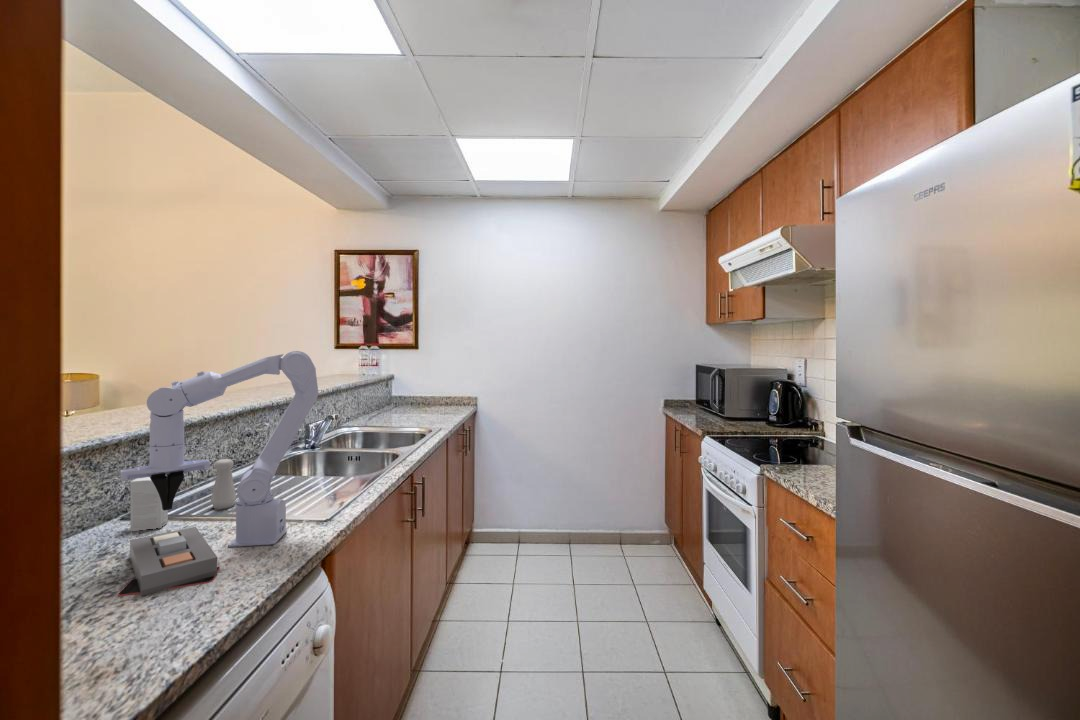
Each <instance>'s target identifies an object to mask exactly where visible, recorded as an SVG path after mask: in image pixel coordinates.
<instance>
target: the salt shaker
mask: <svg viewBox="0 0 1080 720" xmlns="http://www.w3.org/2000/svg"><path fill="white" fill-rule="evenodd" d="M233 467H234V460H232V459H231V458H223V459H218V460H217V461H215V462H214V469H215V470H217V472H216V476H215V481H214V485H213V489H212V493H211V496H210V497H211V498H210V502H211V504H212V506H213V508H214V510H227V509H230V508H231V507H234V505H235V503H236V500H237V491H236V487H235V483H234V477H233V474H232V473H233V472H232V468H233Z"/></svg>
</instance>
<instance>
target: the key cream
mask: <svg viewBox="0 0 1080 720" xmlns="http://www.w3.org/2000/svg"><path fill="white" fill-rule="evenodd" d="M177 536H179V534H178V533H177V532H176V533H171V534H166V535H161V536H157V537H153V545H156V544H158V540H163V539H168V538H172V537H177Z"/></svg>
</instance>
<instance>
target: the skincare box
mask: <svg viewBox="0 0 1080 720" xmlns="http://www.w3.org/2000/svg"><path fill="white" fill-rule="evenodd" d="M129 482H130V484H129V487H130V490H129V491H130V492H129V493H130V504H129V505H130V532H132V531H133V532H140V531H139V530H143V531H147V530H146V529H153V530H157V529H156V528H161V527H162V526H163V527H165V526H166V525H167V524H168V523H169V518H168V517H169V514H168V513H169V510H164V511H163V509H162V503H161V499H160V496H159V494H158V491H157V489H156V487H155V485H154V484H153V482H152V480H151V479H150V477H145V478H138V479H132V480H131V481H129ZM165 524H166V525H165ZM164 525H165V526H164ZM163 527H162V528H163ZM162 528H161V529H162Z"/></svg>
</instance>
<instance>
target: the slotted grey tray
mask: <svg viewBox="0 0 1080 720" xmlns="http://www.w3.org/2000/svg"><path fill="white" fill-rule="evenodd" d="M176 532H177V533H178V534H179V536H182V535H183V536H184V538H185V540H186V549H185V550H181V551H176V552H172V553H168V554H163V555H158V544H156V545H153V537H157V536H161V535H166V534H171V533H176ZM186 552H189V553H190V554H191V556H192V558H193V560H192V561H188V562H184V563H180V564H176V565H172V566H168V567H164V568H162V558H165V557H169V556H173V555H177V554H182V553H186ZM129 558H130V563H131V565H132V569H133V573H134V576H135V578H136V579H137V583H138V586H139V590H140V594H139V595H140V597H145V596H148V595H151V594H155V593H158V592H162V591H166V589H167V590H169V589H168V588H170V587H175V586H178V585H182V584H186V583H189V582H193V581H197V580H200V579H204V578H208V577H212V576H215V575H216V577H217V576H218V574H217V567H218V556H217V555H216V553H215V552H214V551H213V548H211V546H210V545H209V543H208V542H207V541H206V539H205V537H203V535H202V534H201V532H200V531H199V529H198V528H197V526H192V527H187V528H184V529H183V528H182V529H178V530H173V531H168V532H162V533H158V534H154V535H148V536H143V537H138V538H133V539H130V540H129Z"/></svg>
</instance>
